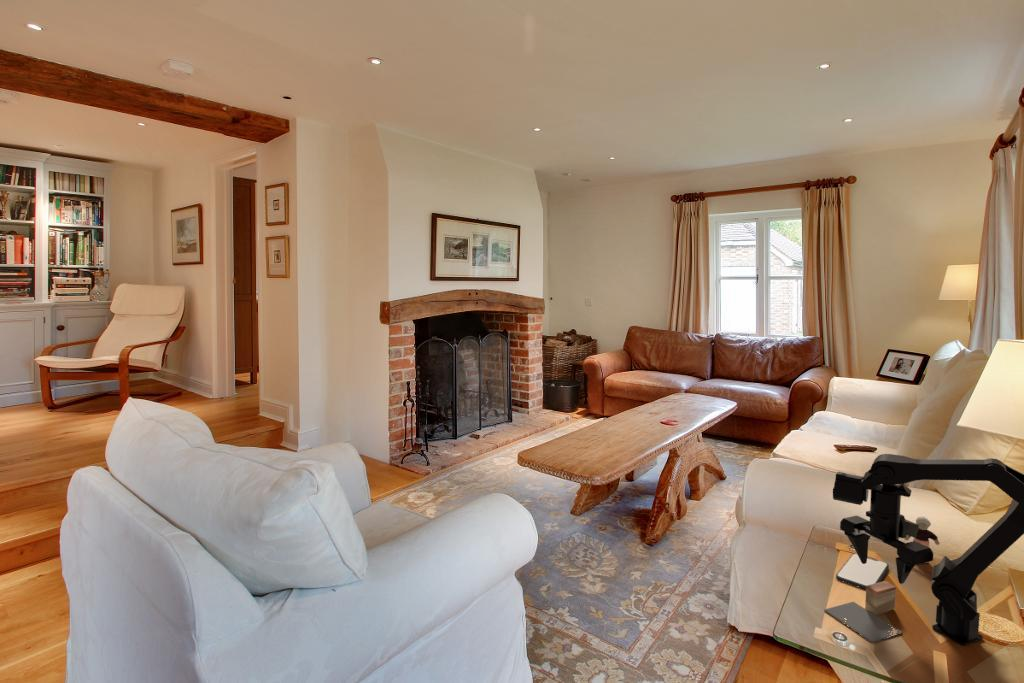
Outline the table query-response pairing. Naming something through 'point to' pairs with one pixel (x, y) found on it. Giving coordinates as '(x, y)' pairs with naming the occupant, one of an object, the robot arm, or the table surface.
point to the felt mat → (862, 621)
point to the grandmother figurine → (924, 533)
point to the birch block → (880, 597)
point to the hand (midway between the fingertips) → (882, 572)
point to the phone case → (862, 571)
